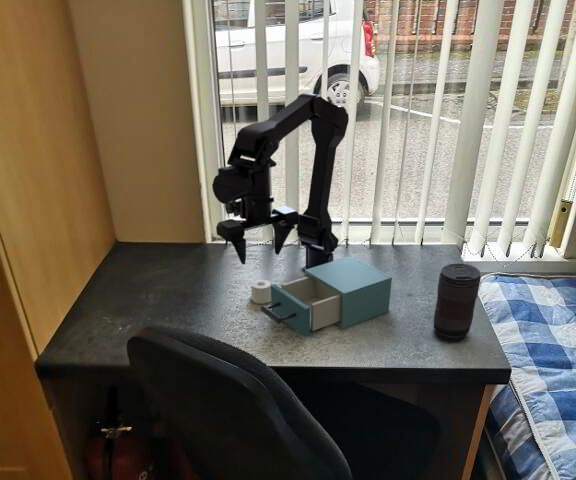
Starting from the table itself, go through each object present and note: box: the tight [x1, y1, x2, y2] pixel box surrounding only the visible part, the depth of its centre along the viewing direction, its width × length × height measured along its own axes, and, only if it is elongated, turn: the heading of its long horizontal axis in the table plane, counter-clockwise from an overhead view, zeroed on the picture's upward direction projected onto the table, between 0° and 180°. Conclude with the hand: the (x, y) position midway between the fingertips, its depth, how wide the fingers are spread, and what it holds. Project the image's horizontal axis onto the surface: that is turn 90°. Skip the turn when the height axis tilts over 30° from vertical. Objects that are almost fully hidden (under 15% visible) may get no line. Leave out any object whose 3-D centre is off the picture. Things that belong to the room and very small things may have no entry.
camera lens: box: [433, 263, 482, 344], centre depth 119 cm, size 8×8×15 cm
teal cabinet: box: [304, 255, 393, 329], centre depth 132 cm, size 14×15×9 cm
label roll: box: [250, 279, 272, 305], centre depth 137 cm, size 5×5×4 cm
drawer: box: [259, 276, 342, 338], centre depth 126 cm, size 17×13×7 cm
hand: (260, 259), depth 132 cm, fingers open, 9 cm apart
